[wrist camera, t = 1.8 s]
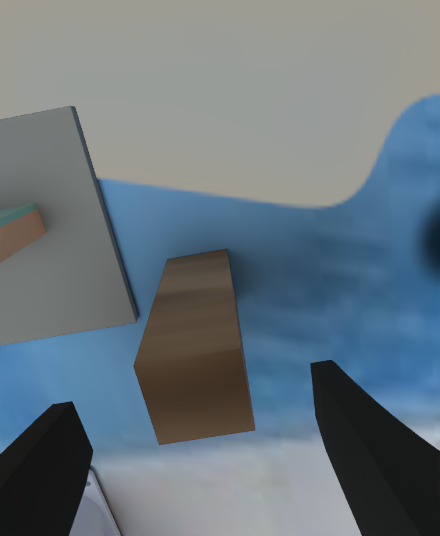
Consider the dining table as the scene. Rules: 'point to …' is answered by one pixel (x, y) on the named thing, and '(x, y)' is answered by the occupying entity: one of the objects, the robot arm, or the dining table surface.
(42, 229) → the tile
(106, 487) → the dining table surface
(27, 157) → the mat
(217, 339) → the peg
